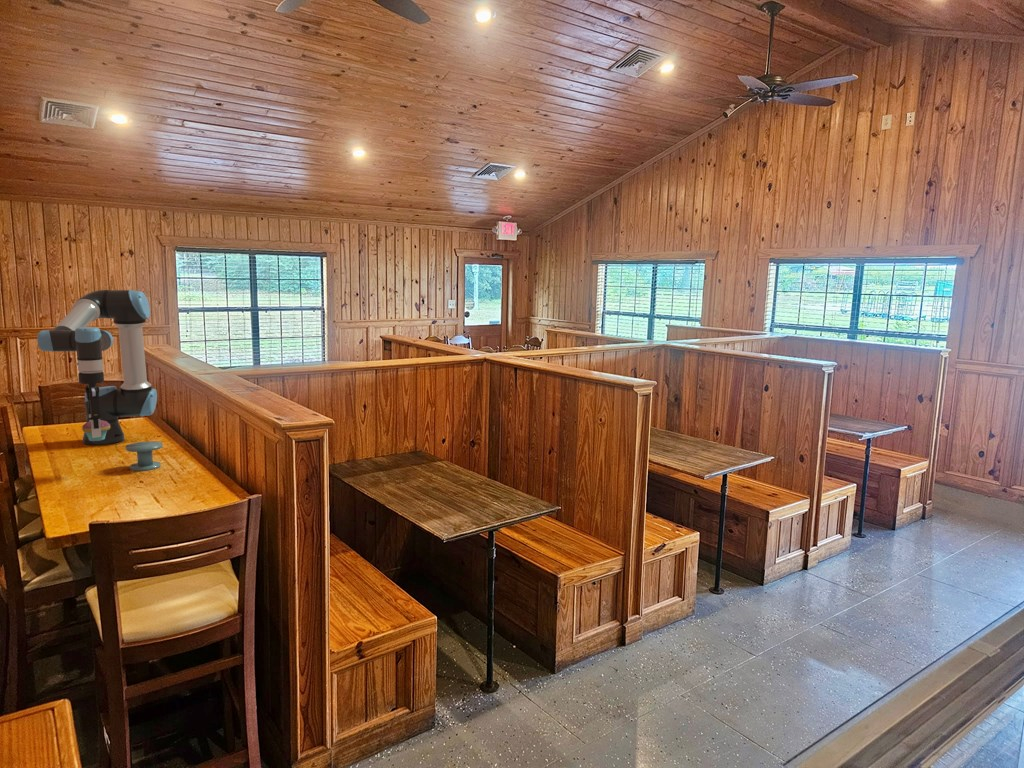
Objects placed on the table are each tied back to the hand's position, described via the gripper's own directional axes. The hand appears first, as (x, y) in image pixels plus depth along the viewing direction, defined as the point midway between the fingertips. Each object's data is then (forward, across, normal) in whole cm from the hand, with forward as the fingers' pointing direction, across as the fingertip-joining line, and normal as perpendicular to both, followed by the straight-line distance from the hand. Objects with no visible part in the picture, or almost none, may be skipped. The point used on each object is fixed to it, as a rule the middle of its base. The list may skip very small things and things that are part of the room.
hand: (95, 434), depth 232 cm
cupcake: (+2, 0, 0) cm, 2 cm away
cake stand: (+14, 0, +15) cm, 21 cm away
